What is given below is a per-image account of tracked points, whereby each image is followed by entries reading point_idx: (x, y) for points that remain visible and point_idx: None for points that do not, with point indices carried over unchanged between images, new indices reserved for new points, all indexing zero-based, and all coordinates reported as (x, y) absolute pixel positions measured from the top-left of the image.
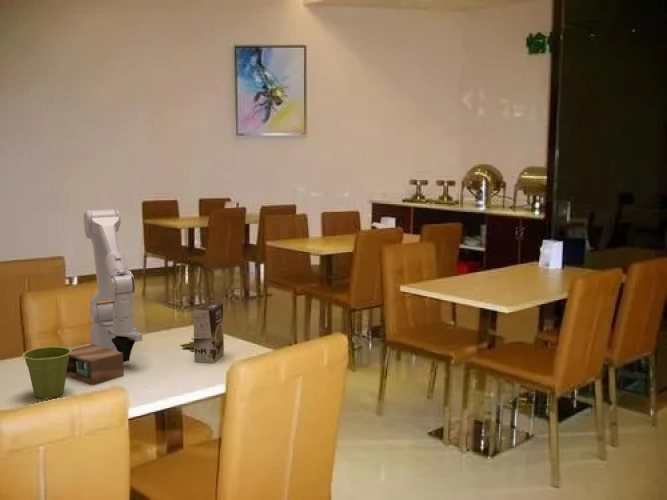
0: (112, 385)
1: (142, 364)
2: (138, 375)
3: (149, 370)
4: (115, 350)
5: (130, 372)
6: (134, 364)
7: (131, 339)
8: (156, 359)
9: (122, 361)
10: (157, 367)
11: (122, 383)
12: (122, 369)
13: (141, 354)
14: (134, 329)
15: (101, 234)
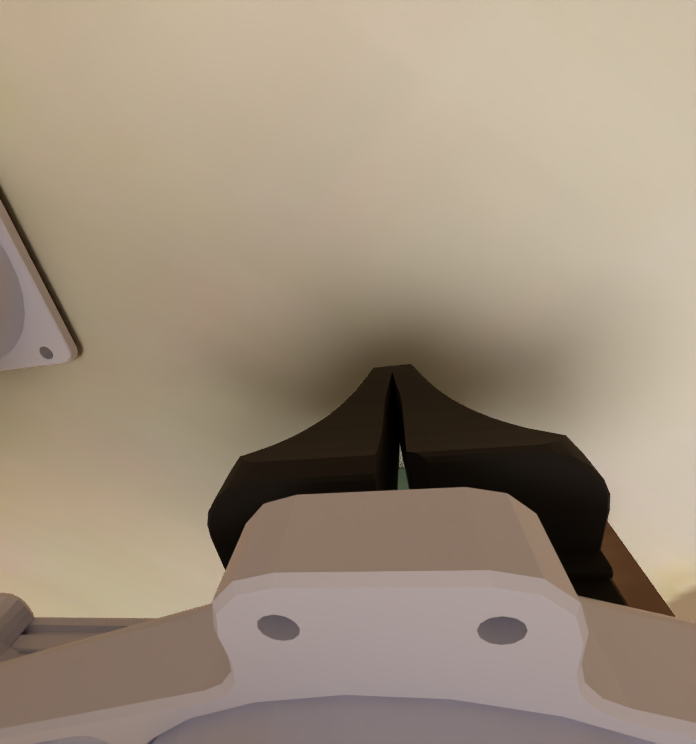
0: (660, 590)
1: (475, 253)
2: (679, 423)
3: (675, 300)
4: (4, 267)
5: (564, 425)
6: (419, 305)
7: (594, 572)
8: (450, 20)
9: (648, 587)
10: (687, 189)
11: (693, 551)
12: (606, 528)
13: (166, 69)
14: (589, 678)
15: None
